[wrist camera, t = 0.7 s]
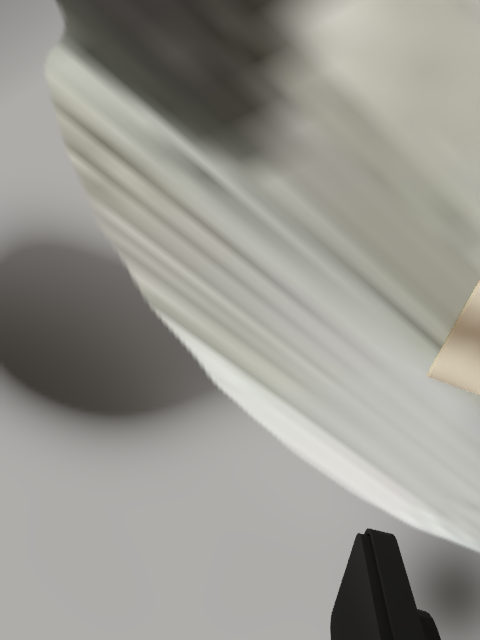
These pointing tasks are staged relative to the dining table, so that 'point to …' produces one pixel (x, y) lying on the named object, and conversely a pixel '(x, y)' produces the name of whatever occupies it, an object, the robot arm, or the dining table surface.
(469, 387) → the board
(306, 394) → the dining table surface
